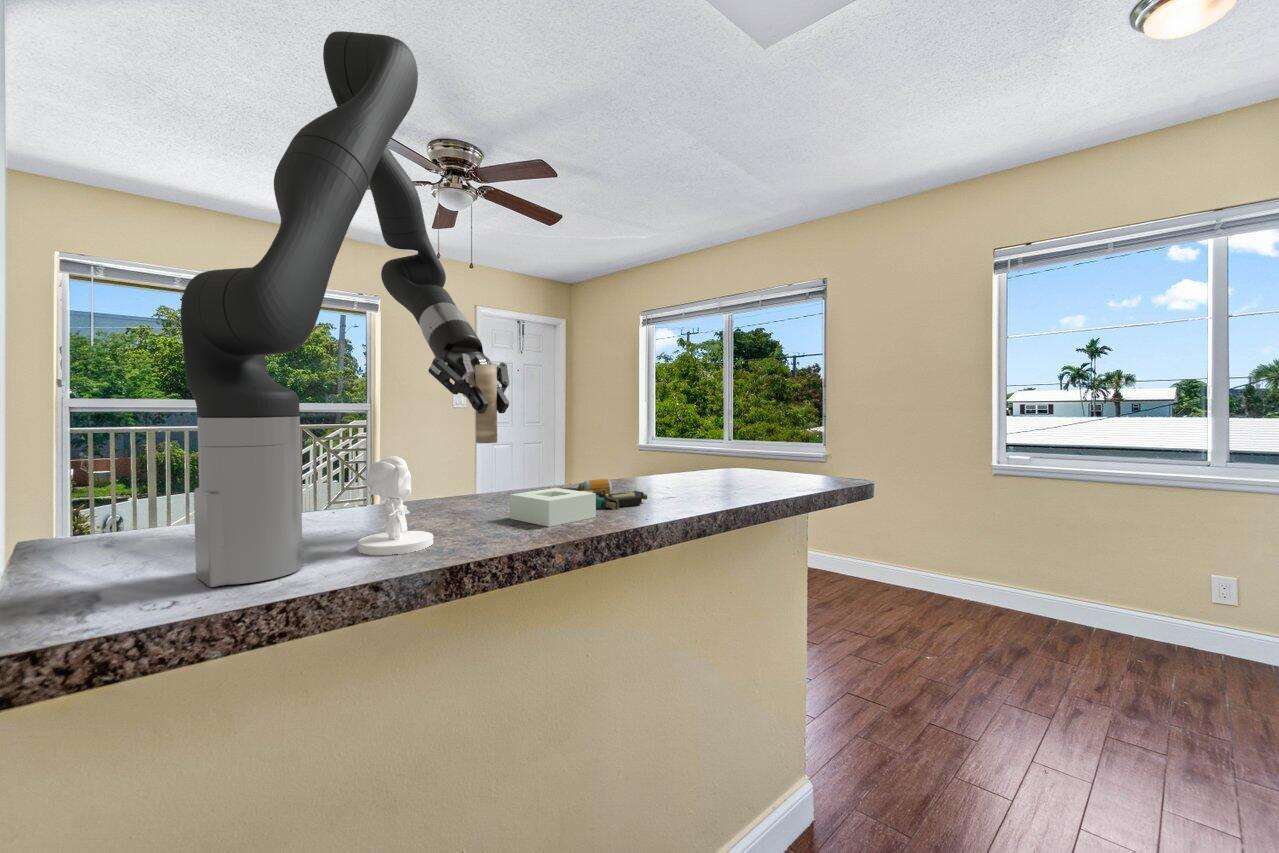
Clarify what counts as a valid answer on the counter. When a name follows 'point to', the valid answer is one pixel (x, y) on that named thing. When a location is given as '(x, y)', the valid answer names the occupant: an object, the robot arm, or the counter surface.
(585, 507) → the socket block
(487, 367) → the peg
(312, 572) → the counter surface
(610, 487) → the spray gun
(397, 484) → the figurine
